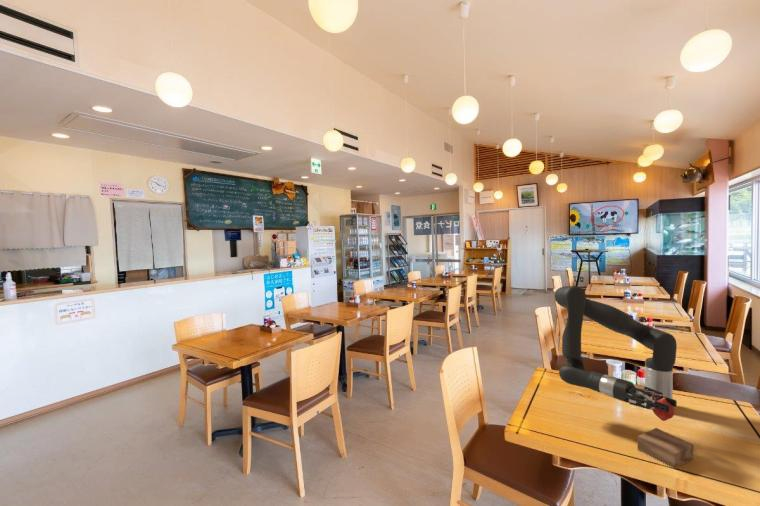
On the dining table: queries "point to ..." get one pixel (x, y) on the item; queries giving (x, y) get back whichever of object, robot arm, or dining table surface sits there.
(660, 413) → the onion
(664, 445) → the walnut block
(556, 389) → the dining table surface
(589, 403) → the dining table surface
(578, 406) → the dining table surface
